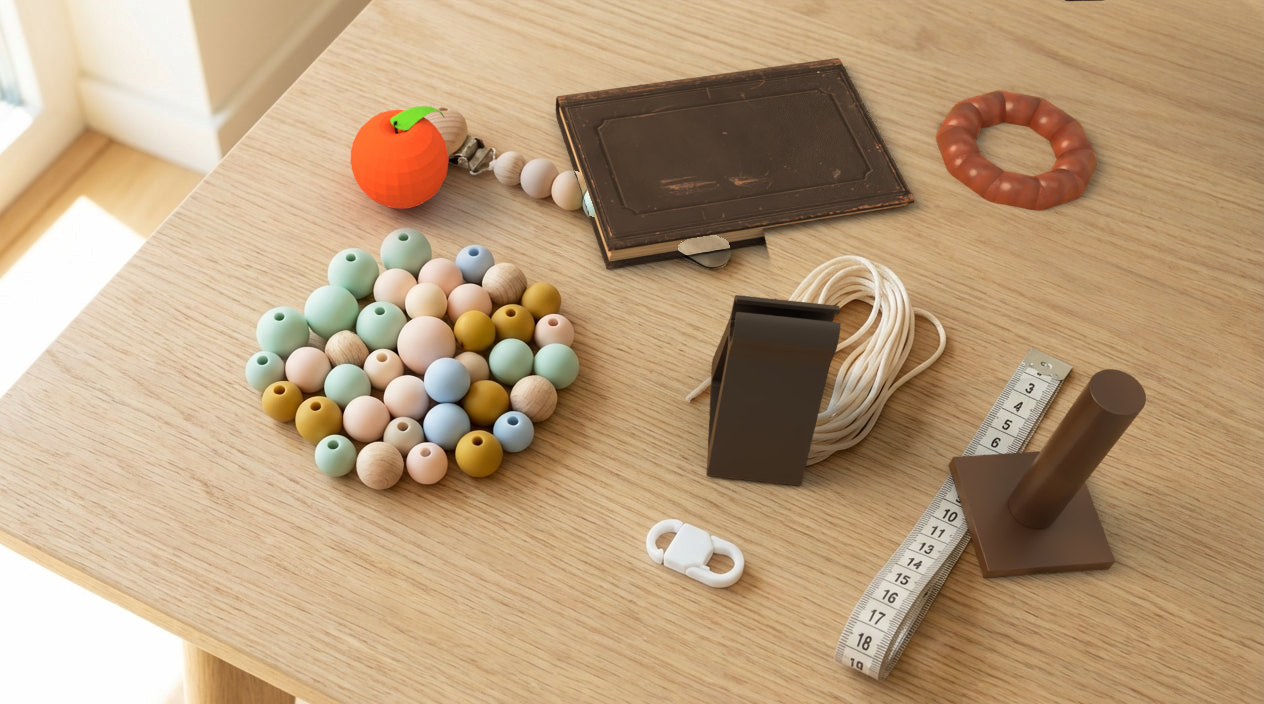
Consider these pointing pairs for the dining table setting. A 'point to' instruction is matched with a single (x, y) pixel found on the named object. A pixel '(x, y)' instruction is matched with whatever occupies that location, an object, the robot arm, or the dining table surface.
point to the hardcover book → (725, 157)
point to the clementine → (400, 157)
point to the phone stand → (769, 388)
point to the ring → (1011, 187)
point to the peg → (1048, 488)
